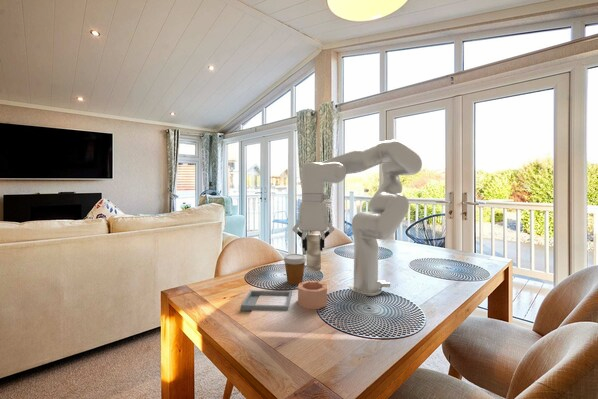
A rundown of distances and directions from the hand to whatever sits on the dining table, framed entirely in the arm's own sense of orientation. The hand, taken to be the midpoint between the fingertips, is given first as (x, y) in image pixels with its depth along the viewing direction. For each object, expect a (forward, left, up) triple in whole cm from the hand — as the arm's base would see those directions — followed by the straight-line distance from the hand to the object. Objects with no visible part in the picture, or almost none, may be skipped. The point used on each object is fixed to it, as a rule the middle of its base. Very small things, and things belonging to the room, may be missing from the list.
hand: (313, 249), depth 100 cm
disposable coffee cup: (+8, -20, -20) cm, 30 cm away
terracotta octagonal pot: (0, 0, -20) cm, 20 cm away
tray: (+16, 0, -20) cm, 26 cm away
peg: (0, 0, -7) cm, 7 cm away
